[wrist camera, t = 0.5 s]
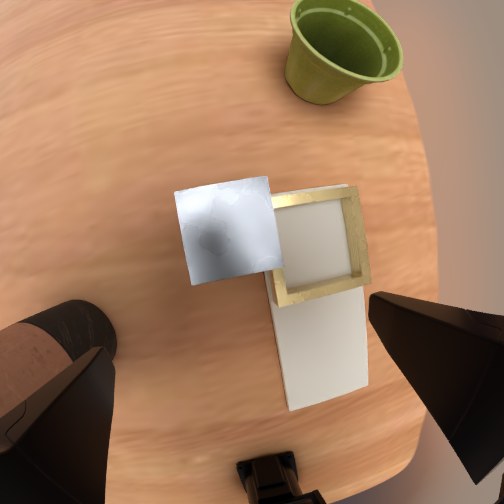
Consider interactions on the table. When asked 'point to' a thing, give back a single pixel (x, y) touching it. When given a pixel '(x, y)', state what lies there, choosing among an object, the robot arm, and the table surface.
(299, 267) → the door board
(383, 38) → the plant pot
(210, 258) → the block
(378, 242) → the table surface
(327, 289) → the frame
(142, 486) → the table surface
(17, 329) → the travel mug
